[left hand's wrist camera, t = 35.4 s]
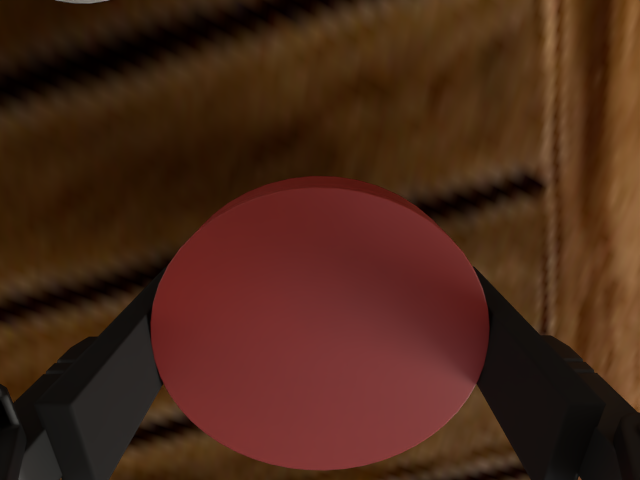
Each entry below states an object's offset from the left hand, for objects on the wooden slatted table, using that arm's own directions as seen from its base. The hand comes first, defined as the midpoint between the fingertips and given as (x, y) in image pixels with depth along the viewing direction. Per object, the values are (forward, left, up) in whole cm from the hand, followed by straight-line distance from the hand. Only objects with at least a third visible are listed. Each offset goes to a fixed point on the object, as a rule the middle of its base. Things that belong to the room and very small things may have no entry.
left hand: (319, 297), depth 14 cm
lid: (0, 0, +3) cm, 3 cm away
